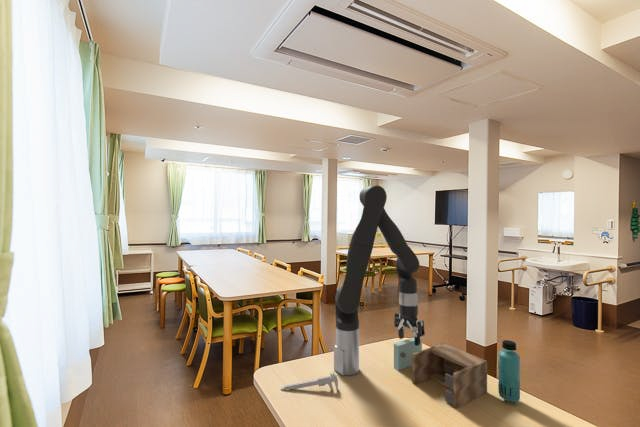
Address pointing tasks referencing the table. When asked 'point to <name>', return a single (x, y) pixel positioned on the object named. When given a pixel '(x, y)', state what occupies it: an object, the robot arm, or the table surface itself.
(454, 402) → the cabinet
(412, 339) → the door
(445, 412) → the table surface
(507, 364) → the beverage bottle
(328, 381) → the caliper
